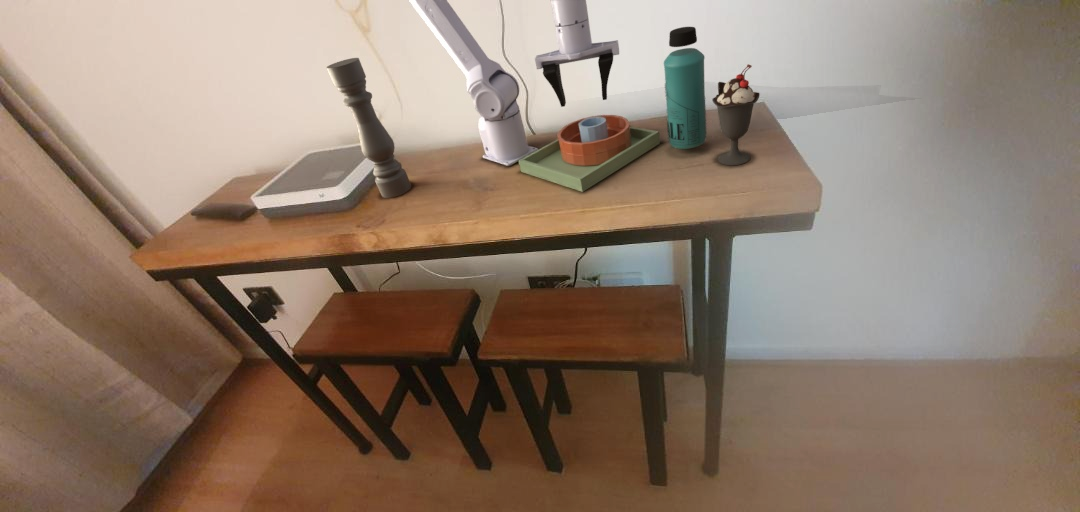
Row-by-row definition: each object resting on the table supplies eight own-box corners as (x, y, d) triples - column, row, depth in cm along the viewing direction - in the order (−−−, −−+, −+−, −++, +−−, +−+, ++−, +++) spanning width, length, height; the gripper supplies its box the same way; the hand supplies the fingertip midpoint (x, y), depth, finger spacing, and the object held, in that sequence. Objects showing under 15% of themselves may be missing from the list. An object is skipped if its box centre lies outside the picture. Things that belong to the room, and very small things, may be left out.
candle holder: (384, 201, 94) (326, 70, 80) (378, 190, 99) (323, 66, 85) (414, 189, 95) (362, 59, 81) (407, 179, 100) (357, 55, 86)
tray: (521, 171, 92) (518, 160, 90) (594, 130, 101) (593, 119, 99) (582, 192, 80) (580, 179, 78) (659, 143, 89) (659, 131, 88)
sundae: (760, 165, 75) (765, 67, 66) (714, 169, 77) (714, 74, 68) (753, 148, 80) (757, 54, 72) (710, 152, 82) (710, 61, 73)
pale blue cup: (577, 153, 91) (572, 125, 88) (596, 142, 94) (592, 115, 90) (596, 157, 88) (592, 129, 85) (615, 146, 90) (611, 118, 87)
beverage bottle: (711, 142, 85) (711, 20, 74) (700, 158, 81) (697, 32, 70) (675, 140, 88) (669, 24, 77) (662, 156, 84) (654, 36, 73)
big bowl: (548, 161, 93) (543, 137, 90) (595, 135, 99) (592, 111, 96) (598, 175, 84) (593, 148, 81) (646, 145, 89) (644, 119, 87)
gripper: (526, 35, 79) (542, 115, 87) (614, 17, 76) (623, 102, 83) (532, 26, 85) (547, 102, 92) (615, 9, 81) (623, 89, 89)
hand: (584, 101), depth 88 cm, fingers open, 7 cm apart
